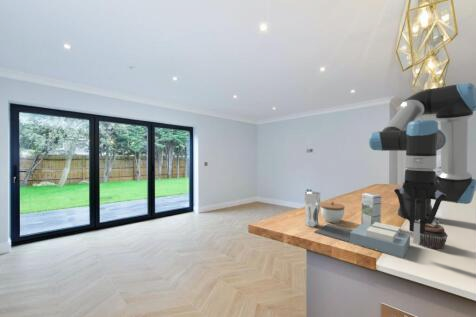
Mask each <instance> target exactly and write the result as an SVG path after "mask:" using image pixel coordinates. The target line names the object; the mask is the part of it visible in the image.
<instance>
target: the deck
mask: <svg viewBox="0 0 476 317" xmlns="http://www.w3.org/2000/svg"><path fill="white" fill-rule="evenodd" d="M369 227H370V225H366V224H361V223H360V224H359V225H358V226H357V227H356V228H354V229H352V230H353V231H351V232H350V243H349V244H352V243H353V245H356V244H357V245H356V246H359V245H361V246H360V247H362V246H364V247H363V248H366V247H368V248H367V249H369V248H373V249H377V250H380V251H381V252H380V251H379V252H380V253H383V254H386V255H391V256H394V257H397V258H401V259H404V257H405V255H406V253H407V252H408V251H409V250H408V249H409V247H410V246H411V245H410V244H411V234H410V233H406V232H401V231H400V233H399V234H398V236H396V239H395V240H394V242H389V241H385V240H381V239H377V238H373V237H369V236H366V230H367V229H368V228H369ZM371 227H372V226H371ZM373 249H372V250H373Z"/></svg>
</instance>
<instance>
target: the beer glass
mask: <svg viewBox="0 0 476 317" xmlns="http://www.w3.org/2000/svg"><path fill="white" fill-rule="evenodd" d="M321 203H322V200H321V192H318V191H311V190H310V191H309V190H307V191H305V193H304V210H305V211H304V212H305V221H304V225H305V226H307V227H309V228H310V227H311V228H317V227H319V225H320V223H319V216H320V215H319V214H320V211H321Z"/></svg>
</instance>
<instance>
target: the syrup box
mask: <svg viewBox="0 0 476 317" xmlns="http://www.w3.org/2000/svg"><path fill="white" fill-rule="evenodd" d="M381 216H382V195H381V194H376V193H372V192H365V193H362V194H361V223H360V225H361V224H366V225H370V226H372V225H373V224H374V223H375V222H378V223H382V222H381V221H382V220H381V218H382V217H381Z"/></svg>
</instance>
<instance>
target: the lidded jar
mask: <svg viewBox="0 0 476 317" xmlns="http://www.w3.org/2000/svg"><path fill="white" fill-rule="evenodd" d="M345 208H346V207H345V206H344V205H343V204H340V203H337V202H334V201H330V202H321V203H320V212H321V216H322V218H323V219H324V221H326V222H328V223H333V224H336V223H337V224H338V223H339V222H340V221H341V220H342V219H343V218H344V215H345Z"/></svg>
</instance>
